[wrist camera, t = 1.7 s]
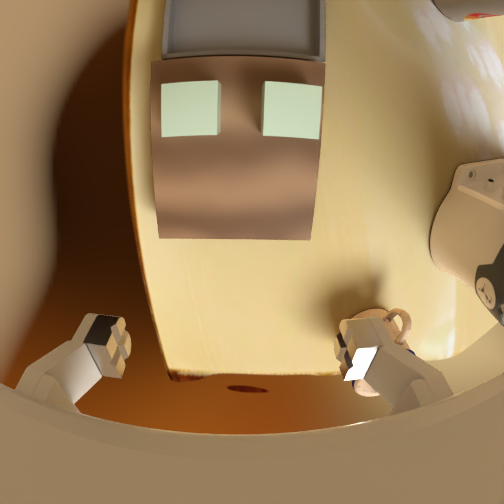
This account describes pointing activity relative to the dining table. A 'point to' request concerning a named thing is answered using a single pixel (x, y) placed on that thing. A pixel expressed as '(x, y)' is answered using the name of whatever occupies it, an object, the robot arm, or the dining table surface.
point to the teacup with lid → (394, 333)
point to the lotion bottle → (470, 9)
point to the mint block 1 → (190, 108)
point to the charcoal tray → (245, 29)
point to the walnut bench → (234, 156)
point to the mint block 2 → (290, 110)
